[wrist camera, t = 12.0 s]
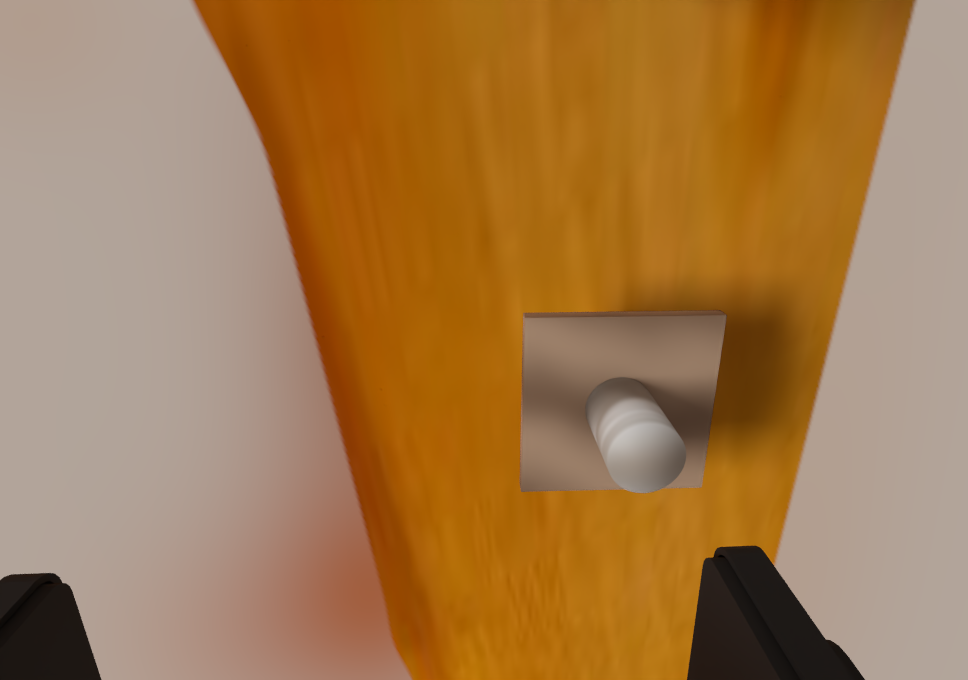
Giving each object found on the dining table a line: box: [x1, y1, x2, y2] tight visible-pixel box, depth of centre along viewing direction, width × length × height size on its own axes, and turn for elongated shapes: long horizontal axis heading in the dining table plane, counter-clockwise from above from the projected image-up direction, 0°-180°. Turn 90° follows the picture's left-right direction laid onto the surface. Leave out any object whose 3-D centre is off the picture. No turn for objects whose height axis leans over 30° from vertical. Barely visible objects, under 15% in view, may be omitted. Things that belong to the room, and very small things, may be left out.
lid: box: [520, 310, 727, 493], centre depth 29 cm, size 10×10×6 cm
